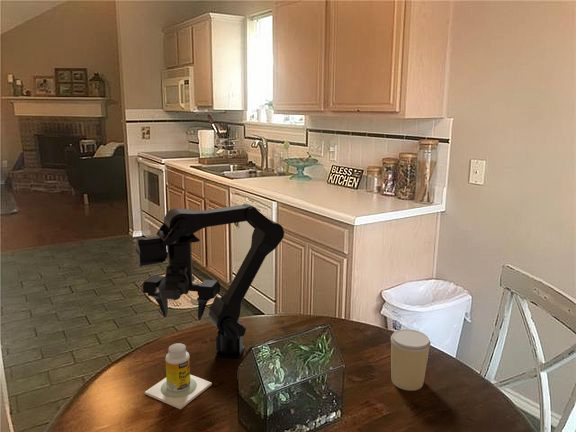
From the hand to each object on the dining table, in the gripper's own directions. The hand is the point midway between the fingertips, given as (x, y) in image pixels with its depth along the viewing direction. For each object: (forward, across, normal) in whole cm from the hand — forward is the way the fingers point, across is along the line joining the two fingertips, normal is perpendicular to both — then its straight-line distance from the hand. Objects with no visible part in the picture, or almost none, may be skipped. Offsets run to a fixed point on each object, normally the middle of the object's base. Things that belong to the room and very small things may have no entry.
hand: (182, 317), depth 121 cm
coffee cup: (+13, +57, +3) cm, 59 cm away
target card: (+13, +3, -11) cm, 17 cm away
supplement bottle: (+12, +3, -11) cm, 17 cm away
